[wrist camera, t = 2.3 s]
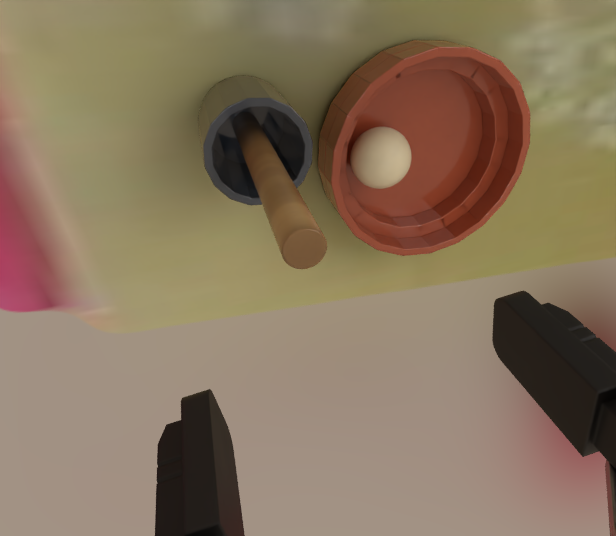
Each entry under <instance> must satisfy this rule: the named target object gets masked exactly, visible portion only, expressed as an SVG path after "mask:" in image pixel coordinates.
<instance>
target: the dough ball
mask: <svg viewBox="0 0 616 536" xmlns="http://www.w3.org/2000/svg"><path fill="white" fill-rule="evenodd" d="M350 162H351V167H352V170H353V173H354V174H355V176H356V177H357V178H358V180H359V181H361V182H362V183H363V184H365V185H366V186H369V187H371V188H377V189H383V188H388V187H391V186H394V185H395V184H397V183H398V182H400V181H401V180H402V179H403V178H404V177H405V175H406V174H407V172H408V170H409V168H410V164H411V149H410V146H409V143H408V141H407V140H406V138H405V137H404V136H403V135H402V134H401V133H400V132H398V131H396V130H395V129H392V128H389V127H375V128H371V129H369V130H367V131H365V132H364V133H363V134H361V135H360V136H359V137H358V139H357V140H356V141H355V143H354V145H353V147H352V150H351V155H350Z"/></svg>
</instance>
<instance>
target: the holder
mask: <svg viewBox="0 0 616 536" xmlns="http://www.w3.org/2000/svg"><path fill="white" fill-rule="evenodd" d="M243 112H248V113H251V114H253V115H254V116H255V117H256V119H257V120H258V122H259V124H260V125H261V127H262V129H263V131H264V132H265V134H266V136H267V138H268V139H269V141H270V143H271V145H272V146H273V148H274V150H275V152H276V153H277V155H278V157H279V159H280V160H281V162H282V164H283V165H284V167H285V169H286V171H287V172H288V174H289V176H290V178H291V179H292V181H293V183H294V185H295V186H296V188H297V187H298V186H299V185H300V184H301V183H302V182H303V181H304V179H305V177H306V174H307V172H308V170H309V168H310V165H311V163H312V147H313V142H312V139H311V136H310V133H309V130H308V128H307V125H306V123H305V121H304V120H303V119H302V118H301V117H300V115H299V114H298V113H297V112H296V111H295V110H294V109H293V108H292V106H291V105H290V104H289V103H288V102H287V101H286V100H285V99H284V97H283V96H282V95H281V94H280V93H279V92H278V91H277V90H276V89H275V88H274V87H273V86H272V85H271V84H269V83H268V82H266V81H264V80H262V79H260V78H257V77H253V76H246V75H240V76H233V77H230V78H227V79H224V80H223V81H221V82H219V83H218V84H216V85H215V86H214V87H213V88H212V89H211V90H210V91H209V92H208V93H207V95H206V96H205V98H204V100H203V102H202V104H201V107H200V110H199V115H198V125H199V136H200V142H201V148H202V154H203V160H204V166H205V169H206V171H207V173H208V175H209V176H210V178H211V180H212V182H213V184H214V185H215V187H216V188H218V189H219V190H220V191H221V192H222V193H224V194H225V195H226V196H227V197H228V198H230V199H232V200H235V201H238V202H241V203H244V204H247V205H262V202H261V200H260V197H259V195H258V192H257V189H256V187H255V184H254V182H253V179H252V176H251V174H250V171H249V169H248V166H247V163H246V161H245V158H244V156H243V153H242V151H241V148H240V145H239V143H238V140H237V138H236V135H235V132H234V130H233V120H234V118H235V117H236V116H237V115H238V114H240V113H243Z"/></svg>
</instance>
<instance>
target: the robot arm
mask: <svg viewBox="0 0 616 536" xmlns="http://www.w3.org/2000/svg"><path fill="white" fill-rule="evenodd" d="M493 345H494V348H495V351H496V353H497V355H498V357H499V358H500V360H501V361H502V362H503V363H504V365H505V366H506V367H507V368H508V369H509V370H510V371H511V373H512V374H513V375H514V376H515V378H516V379H517V380H518V381H519V382H520V383H521V385H522V386H523V387H524V388H525V389H526V390H527V392H528V393H529V394H530V395H531V396H532V398H533V399H534V400H535V401H536V402H537V403H538V405H539V406H540V407H541V408H542V409H543V410H544V412H545V413H546V414H547V415H548V416H549V417H550V419H551V420H552V421H553V422H554V423H555V425H556V426H557V427H558V428H559V429H560V431H562V433H563V434H564V435H565V436H566V438H567V439H568V440H569V441H570V442H571V443H572V445H573V446H574V447H575V448H576V449H577V451H578V452H579V453H580V454H581V455H582V456H583V457H584V456H587V455H590V454H593V453H595V452H598V451H600V453H602V455H603V456H604V457H605V458H606V459H607V460H606V464H605V471H606V485H607V499H608V513H609V528H610V536H616V352H615V351H614V350H612V349H611V348H610V347H609V346H608V345H607V344H605V343H604V342H603V341H602V340H601V339H600V338H596V336H595V334H594V333H593V332H591V331H590V330H589V329H588V328H587V327H584V326H583V324H582V323H581V322H580V321H578V320H577V319H576V318H575V317H574V316H573V315H571V314H570V313H569V312H568V311H565V310H563V309H561V308H559V307H557V306H554V305H552V304H550V303H546V304H543V305H541V304H540V303H539V302H538V301H537V300H535V299H534V298H533V297H532V296H531V295H530V294H529V293H527V292H526V291H520V292H517V293H514V294H511V295H507V296H504V297H501V298H498V299H496V300H495V303H494V318H493ZM157 458H158V459H157V464H158V468H157V483H158V484H157V489H156V523H155V536H244V528H243V520H242V513H241V505H240V497H239V490H238V482H237V474H236V466H235V458H234V450H233V444H232V440H231V435H230V432H229V429H228V426H227V424H226V421H225V419H224V417H223V415H222V413H221V410H220V408H219V406H218V404H217V401H216V399H215V397H214V395H213V393H212V391H211V390H210V389H209V390H206V391H203V392H200V393H196V394H193V395H190V396H187V397H184V398H182V400H181V420H180V421H177V422H174V423H171V424H167V425H166V427H165V430H164V432H163V434H162V436H161V438H160V441H159V443H158V455H157Z"/></svg>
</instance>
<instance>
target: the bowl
mask: <svg viewBox="0 0 616 536" xmlns="http://www.w3.org/2000/svg"><path fill="white" fill-rule="evenodd" d="M375 127H389V128H392V129H395V130H396V131H398V132H400V133H401V134H402V135H403V136H404V137H405V138H406V140H407V141H408V143H409V146H410V149H411V164H410V168H409V170H408V172H407V174H406V175H405V177H404V178H403V179H402V180H401V181H400V182H398V183H397V184H395V185H394V186H391V187H388V188H383V189H377V188H371V187H369V186H366V185H365V184H363V183H362V182H361V181H359V180H358V178H357V177H356V176H355V174H354V173H353V170H352V167H351V162H350V155H351V150H352V147H353V145H354V143H355V141H356V140H357V139H358V137H359V136H360V135H361V134H363V133H364V132H365V131H367V130H369V129H371V128H375ZM529 143H530V111H529V108H528V105H527V102H526V99H525V96H524V93H523V90H522V87H521V84H520V82H519V81H518V80H517V78H516V77H515V76H514V75H513V74H512V73H511V72H510V70H509V69H508V68H507V67H506V66H505V65H504V64H503V62H502V61H500V60H499V59H497V58H495V57H492V56H490V55H488V54H486V53H484V52H481V51H479V50H477V49H475V48H472V47H468V46H464V45H460V44H456V43H452V42H448V41H440V40H412V41H409V42H407V43H404V44H401V45H398V46H395V47H392V48H389V49H387V50H384V51H382V52H380V53H379V54H377V55H376V56H375V57H373V58H372V59H371V60H369V61H368V62H367V63H365V64H364V65H363V66H361V67H360V68H359V69H358V70H356V71H355V72H354V73H353V74H352V75H351V76H350V78H349V79H348V80H347V82H346V83H345V85H344V86H343V87H342V89H341V90H340V91H339V93H338V94H337V95H336V97H335V98H334V100H333V101H332V103H331V105H330V108H329V110H328V113H327V116H326V118H325V121H324V124H323V127H322V129H321V132H320V137H319V155H318V169H319V172H320V176H321V180H322V183H323V187H324V190H325V194H326V196H327V197H328V198H329V200H330V201H331V203H332V204H333V206H334V207H335V209H336V210H337V212H338V213H339V214H340V216H341V217H342V219H343V220H344V221H345V223H346V224H347V226H348V227H349V228H350V230H351V231H352V233H353V234H354V235H355V236H356V237H358V238H359V239H361V240H362V241H364V242H365V243H367V244H369V245H370V246H372V247H373V248H375V249H377V250H380V251H384V252H389V253H393V254H397V255H402V256H405V255H417V254H428V253H432V252H435V251H437V250H440V249H443V248H445V247H448V246H451V245H453V244H456V243H458V242H460V241H461V240H463V239H464V238H466V237H467V236H469V235H470V234H471V233H473V232H474V231H476V230H477V229H479V228H480V227H482V226H483V225H484V224H485V223H486V222H487V221H488V220H489V219H490V217H491V216H492V215H493V214H494V213H495V212H496V211H497V210H498V209H499V208H500V207H501V206H502V205H503V203H504V202H505V201H506V199H507V197H508V195H509V194H510V192H511V190H512V189H513V187H514V185H515V183H516V182H517V180H518V178H519V176H520V174H521V172H522V168H523V165H524V162H525V158H526V155H527V151H528V148H529Z"/></svg>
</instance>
